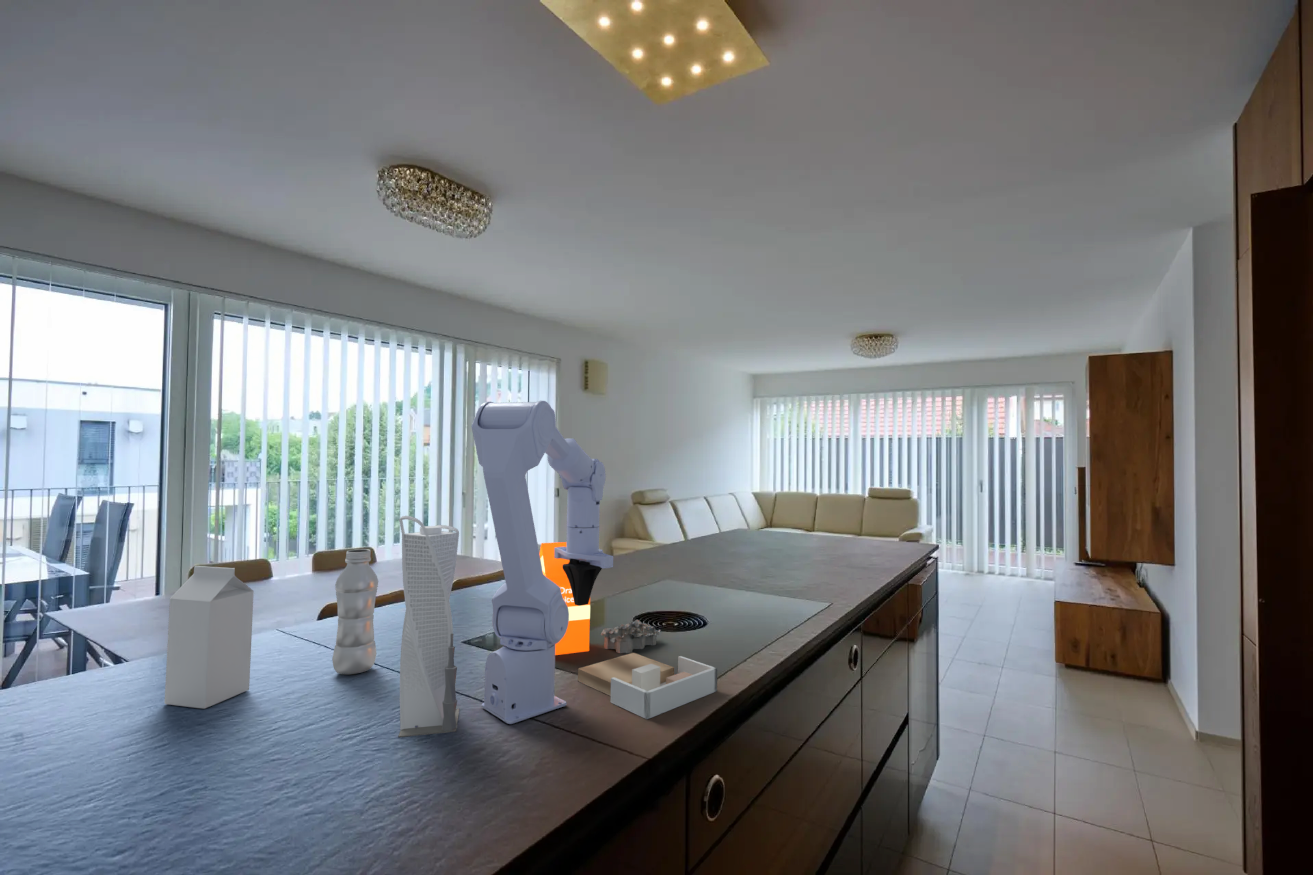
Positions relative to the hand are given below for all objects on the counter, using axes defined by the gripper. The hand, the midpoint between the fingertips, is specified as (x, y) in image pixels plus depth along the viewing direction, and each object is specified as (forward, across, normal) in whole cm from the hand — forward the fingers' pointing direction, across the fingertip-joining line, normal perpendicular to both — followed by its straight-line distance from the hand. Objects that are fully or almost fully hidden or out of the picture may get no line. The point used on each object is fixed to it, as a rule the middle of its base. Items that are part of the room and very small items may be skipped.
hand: (581, 604), depth 103 cm
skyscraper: (+11, -4, +29) cm, 31 cm away
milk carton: (+11, +25, +49) cm, 56 cm away
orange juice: (+11, +10, -3) cm, 15 cm away
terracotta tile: (+8, -21, -4) cm, 23 cm away
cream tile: (+8, -17, +1) cm, 19 cm away
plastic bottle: (+11, +22, +30) cm, 39 cm away
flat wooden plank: (+10, -11, -1) cm, 15 cm away
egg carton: (+11, +3, -14) cm, 18 cm away
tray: (+10, -20, -1) cm, 22 cm away
